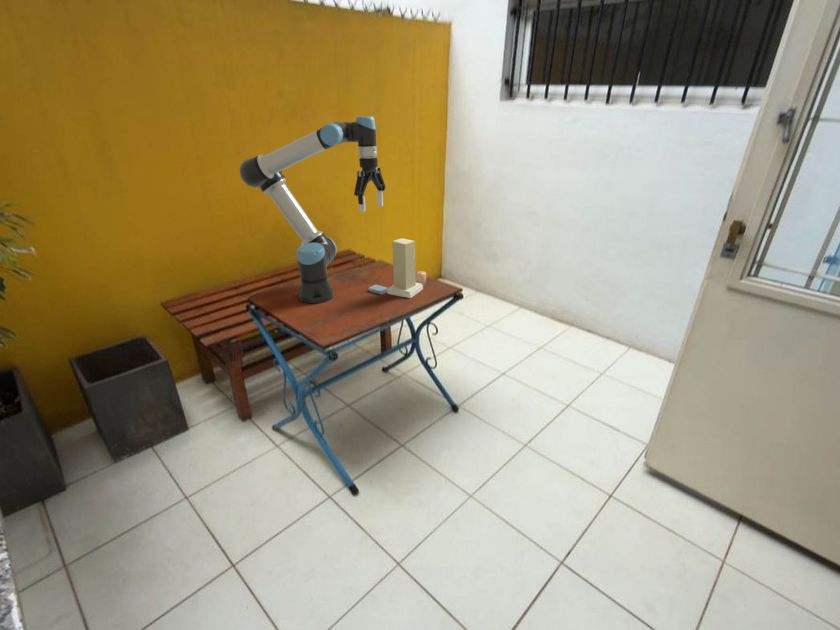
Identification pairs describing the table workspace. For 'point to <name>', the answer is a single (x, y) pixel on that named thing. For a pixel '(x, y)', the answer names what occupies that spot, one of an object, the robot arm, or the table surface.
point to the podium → (405, 290)
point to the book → (378, 289)
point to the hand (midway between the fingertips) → (371, 208)
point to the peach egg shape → (421, 277)
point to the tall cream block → (404, 263)
